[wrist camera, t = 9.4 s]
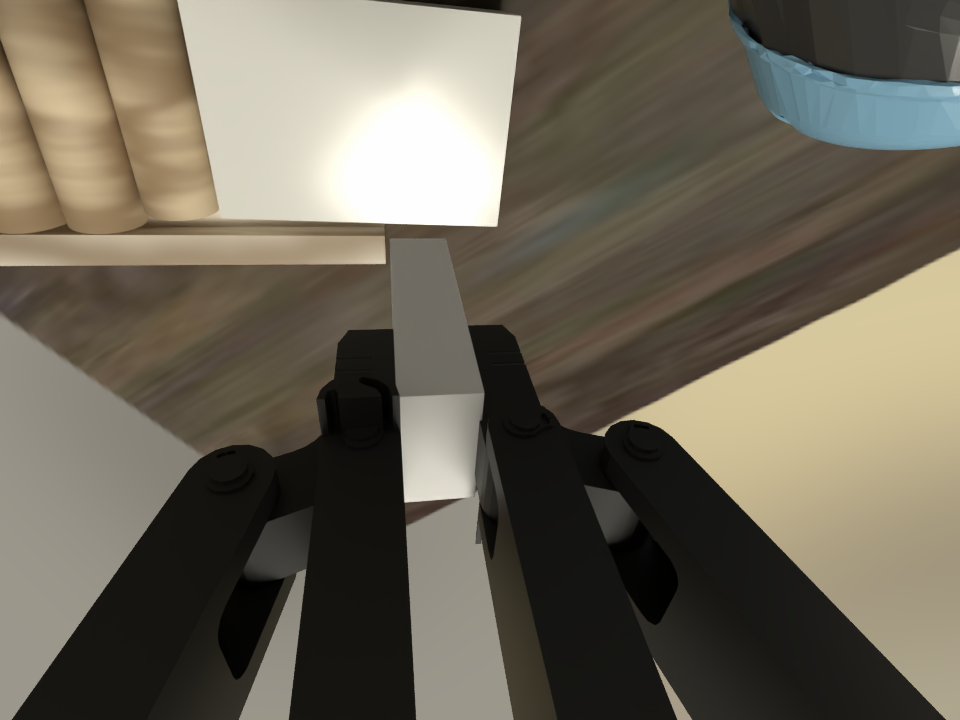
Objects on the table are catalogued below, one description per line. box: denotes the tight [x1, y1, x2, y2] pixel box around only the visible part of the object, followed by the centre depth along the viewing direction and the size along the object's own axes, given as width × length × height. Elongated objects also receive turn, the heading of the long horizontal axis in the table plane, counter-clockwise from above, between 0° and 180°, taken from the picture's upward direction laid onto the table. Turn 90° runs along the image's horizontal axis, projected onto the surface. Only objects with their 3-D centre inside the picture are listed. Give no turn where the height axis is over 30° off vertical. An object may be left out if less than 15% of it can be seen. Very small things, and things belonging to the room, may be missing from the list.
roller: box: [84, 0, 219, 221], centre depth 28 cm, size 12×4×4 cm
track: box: [0, 210, 386, 266], centre depth 26 cm, size 18×26×10 cm
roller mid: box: [0, 0, 148, 234], centre depth 27 cm, size 12×4×4 cm, turn 174°
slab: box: [177, 0, 521, 227], centre depth 30 cm, size 11×16×4 cm
